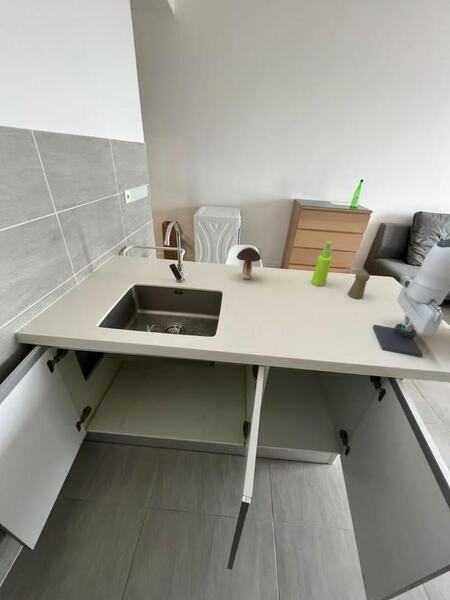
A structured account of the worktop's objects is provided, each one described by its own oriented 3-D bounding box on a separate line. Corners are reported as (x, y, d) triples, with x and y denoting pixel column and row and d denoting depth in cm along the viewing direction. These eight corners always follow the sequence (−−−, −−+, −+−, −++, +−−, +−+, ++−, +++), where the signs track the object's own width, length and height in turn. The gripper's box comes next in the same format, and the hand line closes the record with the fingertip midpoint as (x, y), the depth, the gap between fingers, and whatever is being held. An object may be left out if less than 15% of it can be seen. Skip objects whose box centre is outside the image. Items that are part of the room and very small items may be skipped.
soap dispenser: (326, 282, 115) (338, 240, 105) (323, 287, 110) (335, 245, 100) (313, 278, 118) (324, 238, 107) (310, 284, 113) (321, 242, 102)
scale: (408, 332, 85) (412, 325, 83) (424, 358, 74) (429, 351, 72) (371, 326, 87) (374, 319, 85) (382, 350, 76) (385, 342, 74)
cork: (349, 297, 103) (357, 274, 98) (346, 291, 108) (354, 268, 103) (364, 300, 102) (373, 276, 97) (360, 293, 107) (369, 270, 102)
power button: (407, 330, 83) (409, 326, 82) (411, 336, 80) (413, 332, 79) (398, 328, 83) (400, 325, 82) (401, 334, 81) (403, 330, 80)
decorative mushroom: (230, 278, 113) (232, 247, 105) (243, 271, 121) (246, 242, 113) (250, 286, 108) (254, 254, 100) (262, 278, 115) (266, 247, 108)
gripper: (457, 313, 64) (431, 351, 72) (423, 280, 81) (405, 314, 89) (430, 309, 66) (407, 347, 73) (403, 277, 83) (386, 310, 90)
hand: (406, 328), depth 81 cm, fingers closed, pressing on power button
